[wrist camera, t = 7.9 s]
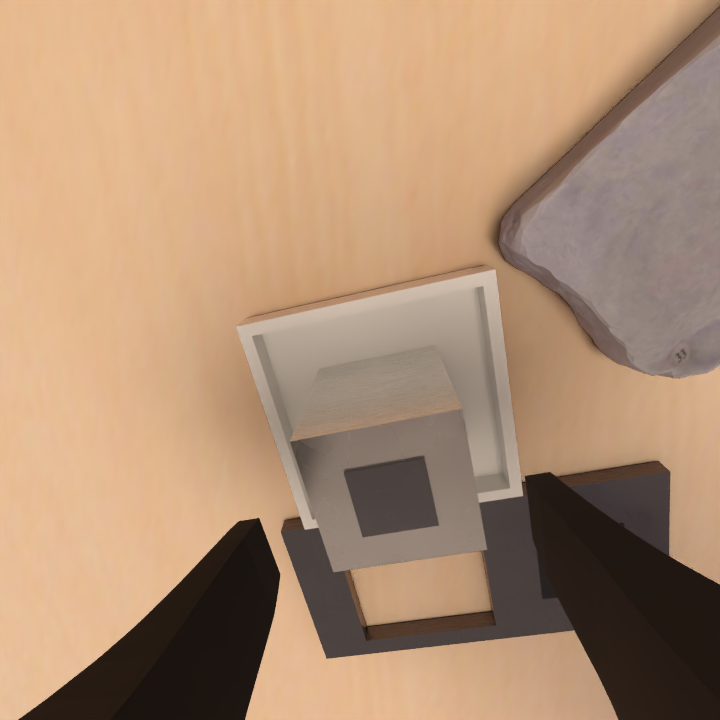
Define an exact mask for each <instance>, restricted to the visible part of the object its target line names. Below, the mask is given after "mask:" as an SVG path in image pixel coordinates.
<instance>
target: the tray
mask: <svg viewBox="0 0 720 720" xmlns="http://www.w3.org/2000/svg"><path fill="white" fill-rule="evenodd" d="M236 329H237V331H238V334H239V337H240V340H241V343H242V346H243V349H244V352H245V355H246V358H247V361H248V364H249V367H250V370H251V373H252V376H253V379H254V382H255V385H256V388H257V390H258V393H259V396H260V399H261V402H262V405H263V408H264V411H265V414H266V417H267V420H268V423H269V426H270V429H271V432H272V435H273V438H274V441H275V444H276V446H277V449H278V452H279V455H280V458H281V461H282V464H283V467H284V470H285V473H286V476H287V479H288V482H289V485H290V488H291V491H292V494H293V497H294V500H295V503H296V505H297V508H298V511H299V514H300V517H301V520H302V523H303V526H304V529H305V530H306V529H313V528H318V525H317V522H316V519H315V516H314V513H313V510H312V507H311V504H310V501H309V498H308V495H307V492H306V489H305V486H304V483H303V480H302V477H301V474H300V471H299V468H298V465H297V462H296V459H295V456H294V453H293V450H292V447H291V444H290V440H291V437H292V435H293V432H294V430H295V427H296V425H297V422H298V420H299V417H300V415H301V413H302V410H303V408H304V405H305V403H306V400H307V398H308V395H309V393H310V390H311V388H312V385H313V383H314V380H315V378H316V376H317V373H318V371H319V369H321V368H326V367H330V366H335V365H340V364H345V363H349V362H354V361H359V360H364V359H368V358H373V357H378V356H383V355H387V354H392V353H397V352H402V351H406V350H411V349H416V348H421V347H425V346H430V345H435V346H436V348H437V351H438V353H439V355H440V358H441V360H442V362H443V365H444V367H445V369H446V372H447V374H448V376H449V379H450V381H451V383H452V386H453V388H454V390H455V393H456V395H457V397H458V399H459V402H460V404H461V406H462V409H463V415H464V420H465V426H466V432H467V437H468V443H469V449H470V455H471V460H472V466H473V472H474V477H475V483H476V489H477V495H478V500H479V503H481V502H487V501H494V500H500V499H507V498H513V497H519V496H523V490H522V482H521V474H520V466H519V457H518V449H517V441H516V433H515V425H514V416H513V408H512V400H511V392H510V384H509V376H508V367H507V359H506V351H505V343H504V335H503V326H502V318H501V310H500V302H499V294H498V285H497V277H496V269H494V268H492V267H489V266H487V265H482V266H477V267H473V268H468V269H464V270H460V271H455V272H451V273H446V274H442V275H437V276H433V277H428V278H424V279H419V280H415V281H410V282H406V283H401V284H397V285H392V286H388V287H384V288H379V289H375V290H370V291H366V292H361V293H357V294H352V295H348V296H343V297H339V298H334V299H330V300H325V301H321V302H316V303H312V304H308V305H303V306H299V307H294V308H290V309H285V310H281V311H276V312H272V313H267V314H263V315H258V316H254V317H249V318H247V319H246V320H244V321H243V322H242V323H240V324H239V325H238V326H236Z"/></svg>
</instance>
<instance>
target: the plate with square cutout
mask: <svg viewBox="0 0 720 720" xmlns="http://www.w3.org/2000/svg"><path fill="white" fill-rule="evenodd" d="M557 478H558V479H560V480H561V481H562V482H564V483H565V484H566V485H568V486H569V487H570V488H571V489H573V490H574V491H575V492H577V493H578V494H579V495H581V496H582V497H583V498H585V499H586V500H587V501H589V502H590V503H591V504H593V505H594V506H595V507H597V508H598V509H599V510H601V511H602V512H603V513H605V514H606V515H608V516H609V517H611V518H612V519H613V520H615V521H616V522H618V523H619V524H621V525H622V526H623V527H625V528H626V529H628V530H629V531H631V532H632V533H634V534H635V535H637V536H638V537H640V538H641V539H643V540H644V541H646V542H647V543H649V544H651V545H652V546H654V547H655V548H657V549H658V550H660V551H662V552H663V553H665V554H666V555H668V556H669V512H670V471H669V470H668V469H667V468H666V467H664V466H663V465H662V464H661V463H660V462H659V461H656V462H650V463H644V464H638V465H631V466H625V467H619V468H612V469H606V470H600V471H593V472H587V473H581V474H574V475H568V476H562V477H557ZM522 490H523V496H519V497H513V498H507V499H500V500H494V501H487V502H481V503H479V506H480V512H481V518H482V523H483V529H484V535H485V540H486V546H487V550H482V555H483V561H484V567H485V573H486V579H487V584H488V590H489V596H490V602H491V608H492V612H485V613H476V614H468V615H460V616H452V617H444V618H436V619H428V620H419V621H411V622H403V623H395V624H387V625H379V626H371V627H367V626H366V623H365V620H364V616H363V613H362V610H361V607H360V603H359V600H358V597H357V594H356V590H355V587H354V584H353V581H352V577H351V574H350V571H349V570H346V571H339V572H333V569H332V566H331V564H330V561H329V558H328V555H327V552H326V549H325V546H324V543H323V540H322V537H321V534H320V531H319V528H313V529H306V530H305V529H304V526H303V523H302V520H301V518H297V519H291V520H285V521H284V523H283V527H282V530H281V534H282V537H283V539H284V542H285V545H286V548H287V550H288V553H289V556H290V559H291V561H292V564H293V567H294V570H295V572H296V575H297V578H298V581H299V583H300V586H301V589H302V592H303V594H304V597H305V600H306V603H307V605H308V608H309V611H310V614H311V616H312V619H313V622H314V625H315V628H316V630H317V633H318V636H319V639H320V641H321V644H322V647H323V650H324V652H325V655H326V658H327V659H328V658H337V657H345V656H354V655H363V654H372V653H380V652H389V651H398V650H407V649H415V648H424V647H433V646H441V645H450V644H459V643H468V642H476V641H485V640H494V639H503V638H511V637H520V636H529V635H537V634H546V633H555V632H564V631H572V630H574V628H573V626H572V624H571V622H570V621H569V619H568V617H567V615H566V613H565V611H564V609H563V607H562V605H561V603H560V601H559V599H558V597H557V595H556V594H555V592H554V590H553V588H552V586H551V584H550V582H549V580H548V578H547V575H546V573H545V570H544V568H543V565H542V563H541V560H540V557H539V555H538V552H537V550H536V547H535V544H534V542H533V538H532V530H531V522H530V513H529V505H528V497H527V488H526V482H524V483H522Z"/></svg>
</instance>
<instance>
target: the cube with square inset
mask: <svg viewBox="0 0 720 720" xmlns="http://www.w3.org/2000/svg"><path fill="white" fill-rule="evenodd" d="M290 444H291V447H292V450H293V453H294V456H295V459H296V462H297V465H298V468H299V471H300V474H301V477H302V480H303V483H304V486H305V489H306V492H307V495H308V498H309V501H310V504H311V507H312V510H313V513H314V516H315V519H316V522H317V525H318V528H319V531H320V534H321V537H322V540H323V543H324V546H325V549H326V552H327V555H328V558H329V561H330V564H331V566H332V569H333V572H339V571H346V570H353V569H359V568H366V567H373V566H380V565H387V564H394V563H400V562H407V561H414V560H421V559H428V558H434V557H441V556H448V555H455V554H462V553H468V552H475V551H482V550H487V546H486V540H485V535H484V529H483V523H482V518H481V512H480V506H479V500H478V495H477V489H476V483H475V477H474V472H473V466H472V460H471V455H470V449H469V443H468V437H467V432H466V426H465V420H464V415H463V409H462V406H461V404H460V402H459V399H458V397H457V395H456V393H455V390H454V388H453V386H452V383H451V381H450V379H449V376H448V374H447V372H446V369H445V367H444V365H443V362H442V360H441V358H440V355H439V353H438V351H437V348H436V346H435V345H430V346H425V347H421V348H416V349H411V350H406V351H402V352H397V353H392V354H387V355H383V356H378V357H373V358H368V359H364V360H359V361H354V362H349V363H345V364H340V365H335V366H330V367H326V368H321V369H319V371H318V373H317V376H316V378H315V380H314V383H313V385H312V388H311V390H310V393H309V395H308V398H307V400H306V403H305V405H304V408H303V410H302V413H301V415H300V417H299V420H298V422H297V425H296V427H295V430H294V432H293V435H292V437H291V440H290Z"/></svg>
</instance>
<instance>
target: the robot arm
mask: <svg viewBox="0 0 720 720" xmlns="http://www.w3.org/2000/svg"><path fill="white" fill-rule="evenodd" d="M525 480H526V488H527V497H528V505H529V513H530V522H531V530H532V538H533V542H534V544H535V547H536V550H537V552H538V555H539V557H540V560H541V563H542V565H543V568H544V570H545V573H546V575H547V578H548V580H549V582H550V584H551V586H552V588H553V590H554V592H555V594H556V595H557V597H558V599H559V601H560V603H561V605H562V607H563V609H564V611H565V613H566V615H567V617H568V619H569V621H570V622H571V624H572V626H573V628H574V630H575V632H576V634H577V636H578V638H579V640H580V642H581V643H582V645H583V647H584V649H585V651H586V653H587V655H588V657H589V659H590V661H591V663H592V664H593V666H594V668H595V670H596V672H597V674H598V676H599V678H600V680H601V682H602V684H603V686H604V688H605V690H606V692H607V695H608V697H609V699H610V701H611V703H612V705H613V708H614V710H615V712H616V715H617V717H618V719H619V720H720V585H719V584H718V583H716V582H714V581H712V580H710V579H708V578H707V577H705V576H703V575H701V574H699V573H698V572H696V571H694V570H692V569H690V568H689V567H687V566H685V565H683V564H682V563H680V562H678V561H676V560H675V559H673V558H671V557H670V556H668V555H666V554H665V553H663V552H662V551H660V550H658V549H657V548H655V547H654V546H652V545H651V544H649V543H647V542H646V541H644V540H643V539H641V538H640V537H638V536H637V535H635V534H634V533H632V532H631V531H629V530H628V529H626V528H625V527H623V526H622V525H621V524H619V523H618V522H616V521H615V520H613V519H612V518H611V517H609V516H608V515H606V514H605V513H603V512H602V511H601V510H599V509H598V508H597V507H595V506H594V505H593V504H591V503H590V502H589V501H587V500H586V499H585V498H583V497H582V496H581V495H579V494H578V493H577V492H575V491H574V490H573V489H571V488H570V487H569V486H568V485H566V484H565V483H564V482H562V481H561V480H560V479H558V478H557V477H556V476H555V475H553V474H552V473H550V472H548V473H541V474H535V475H529V476H525ZM279 581H280V572H279V570H278V567H277V564H276V562H275V559H274V556H273V554H272V551H271V548H270V546H269V543H268V540H267V538H266V535H265V532H264V530H263V527H262V524H261V522H260V519H259V518H257V519H250V520H244V521H239V522H237V523H236V524H235V525H234V526H233V527H232V528H231V529H230V530H229V531H228V532H227V533H226V534H225V535H224V536H223V537H222V539H221V540H220V541H219V542H218V543H217V544H216V545H215V546H214V547H213V548H212V549H211V550H210V551H209V552H208V553H207V555H206V556H205V557H204V558H203V559H202V560H201V561H200V562H199V563H198V564H197V565H196V566H195V567H194V568H193V569H192V570H191V571H190V573H189V574H188V575H187V576H186V577H185V578H184V579H183V580H182V581H181V582H180V583H179V584H178V585H177V586H176V587H175V588H174V589H173V590H172V591H171V592H170V593H169V594H168V595H167V596H166V597H165V598H164V599H163V600H162V601H161V602H160V603H159V604H158V605H157V606H156V607H155V608H154V609H153V610H152V611H151V612H150V613H149V614H148V615H147V616H146V617H145V618H143V619H142V620H141V621H140V622H139V623H138V624H137V625H136V626H135V627H134V628H133V629H132V630H130V631H129V632H128V633H127V634H126V635H125V636H124V637H123V638H121V639H120V640H119V641H118V642H117V643H116V644H115V645H113V646H112V647H111V648H110V649H109V650H108V651H106V652H105V653H104V654H103V655H102V656H101V657H99V658H98V659H97V660H96V661H95V662H93V663H92V664H91V665H90V666H88V667H87V668H86V669H84V670H83V671H82V672H81V673H79V674H78V675H77V676H76V677H74V678H73V679H72V680H70V681H69V682H68V683H67V684H65V685H64V686H63V687H62V688H60V689H59V690H58V691H56V692H55V693H54V694H53V695H51V696H50V697H49V698H47V699H46V700H45V701H43V702H42V703H41V704H39V705H38V706H37V707H35V708H34V709H32V710H31V711H30V712H28V713H27V714H26V715H24V716H23V717H21V718H20V719H19V720H245V717H246V713H247V710H248V706H249V703H250V699H251V695H252V692H253V688H254V685H255V681H256V678H257V674H258V671H259V667H260V664H261V660H262V657H263V653H264V650H265V646H266V643H267V639H268V635H269V632H270V628H271V625H272V621H273V617H274V613H275V607H276V601H277V595H278V588H279Z"/></svg>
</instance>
